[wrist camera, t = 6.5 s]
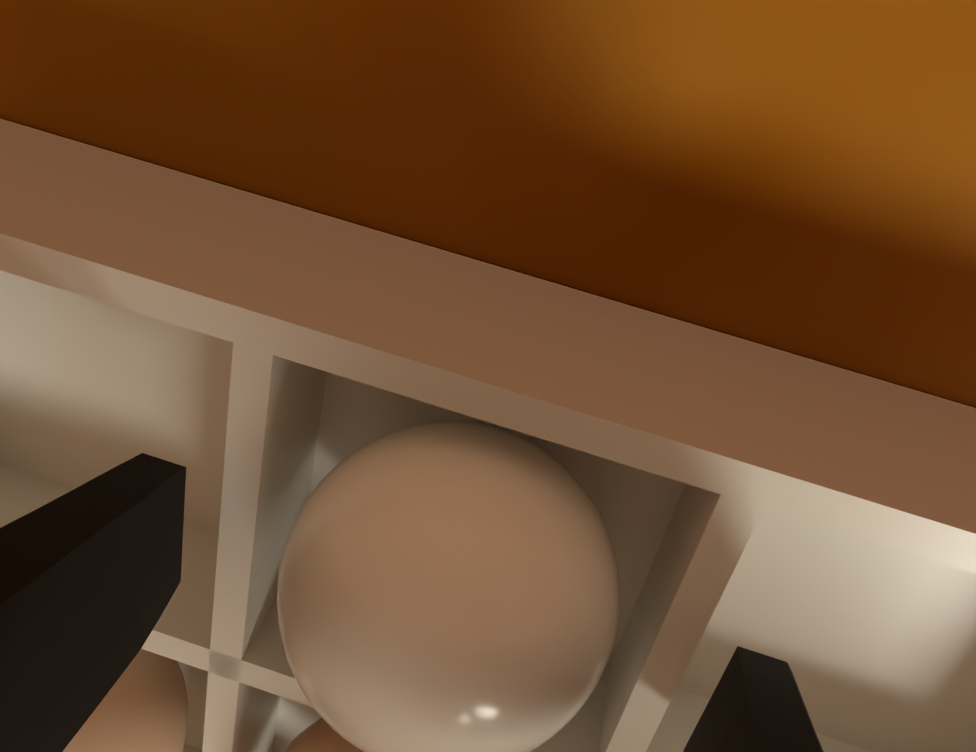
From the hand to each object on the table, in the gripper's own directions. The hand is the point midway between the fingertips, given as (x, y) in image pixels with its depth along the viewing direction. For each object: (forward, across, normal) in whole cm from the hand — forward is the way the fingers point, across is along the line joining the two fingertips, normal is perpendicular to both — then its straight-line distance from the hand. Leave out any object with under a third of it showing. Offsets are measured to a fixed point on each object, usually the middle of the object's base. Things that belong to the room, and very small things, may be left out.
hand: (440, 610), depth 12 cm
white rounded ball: (+3, 0, 0) cm, 3 cm away
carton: (+3, 0, +3) cm, 4 cm away
